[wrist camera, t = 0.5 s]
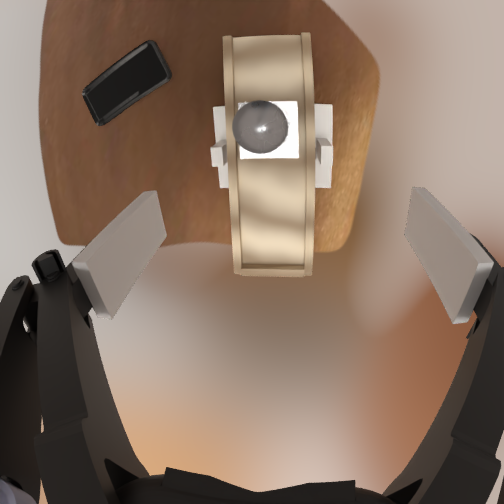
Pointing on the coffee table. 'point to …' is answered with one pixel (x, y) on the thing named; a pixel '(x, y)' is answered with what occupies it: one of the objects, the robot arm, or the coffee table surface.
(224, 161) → the stand
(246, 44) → the beam
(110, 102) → the phone
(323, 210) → the coffee table surface
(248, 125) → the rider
